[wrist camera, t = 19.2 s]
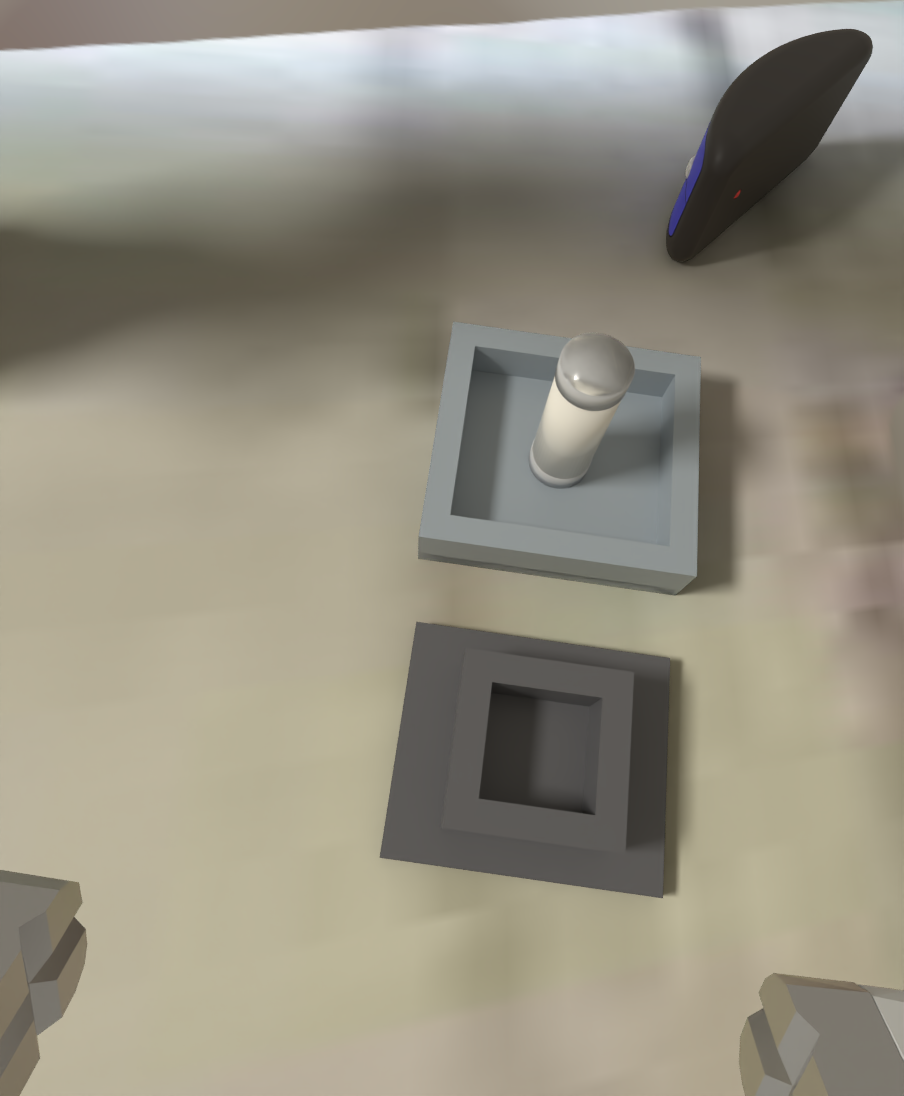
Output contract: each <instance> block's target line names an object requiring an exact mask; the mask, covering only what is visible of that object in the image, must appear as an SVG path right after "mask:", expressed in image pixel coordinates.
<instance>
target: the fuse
mask: <svg viewBox="0 0 904 1096" xmlns="http://www.w3.org/2000/svg"><path fill="white" fill-rule="evenodd" d="M634 374H635V363H634V359H633V357H632V355H631V353H630V351H629V350H628V348H627V347H626V346H625V345H624V344H623V343H622V342H620V341H619V340H617V339H615V338H614V337H611V336H609V335H606V334H602V333H585V334H581V335H578V336H576V337H574V338H573V339H571V340H570V341H569V342H568V343H567V344H566V345H565V346H564V348H563V349H562V351H561V354H560V357H559V361H558V364H557V367H556V371H555V377H554V380H553V383H552V386H551V389H550V392H549V396H548V399H547V402H546V405H545V408H544V411H543V415H542V418H541V421H540V424H539V427H538V430H537V433H536V437H535V439H534V441H533V443H532V446H531V450H530V453H529V460H528V461H529V467H530V469H531V472H532V473H533V475H534V476H535V477H536V478H537V479H538V480H539V481H540V482H541V483H543V484H544V485H546V486H549V487H552V488H558V489H564V488H569V487H572V486H574V485H576V484H578V483H579V482H580V481H581V480H582V479H583V478H584V476H585V475H586V473H587V471H588V469H589V467H590V465H591V462H592V459H593V457H594V454H595V452H596V450H597V448H598V446H599V444H600V442H601V440H602V438H603V436H604V434H605V432H606V430H607V428H608V426H609V424H610V422H611V420H612V418H613V416H614V414H615V412H616V410H617V408H618V406H619V404H620V402H621V400H622V399H623V397H624V396H625V394H626V392H627V390H628V388H629V386H630V384H631V382H632V380H633V377H634Z"/></svg>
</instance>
